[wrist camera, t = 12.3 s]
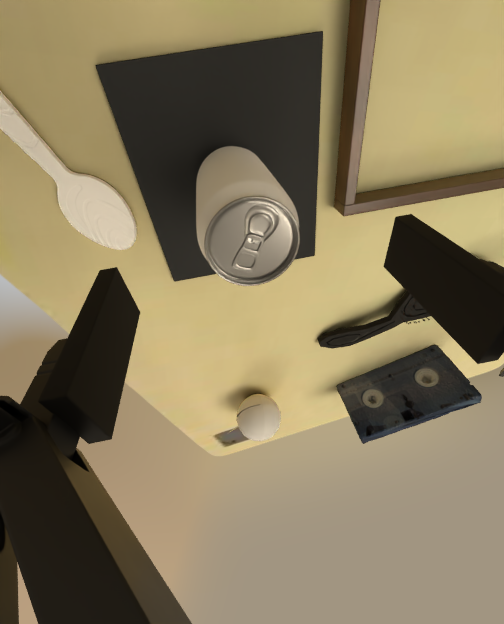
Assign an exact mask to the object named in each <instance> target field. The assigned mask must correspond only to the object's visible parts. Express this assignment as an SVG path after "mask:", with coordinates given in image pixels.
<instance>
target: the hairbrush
mask: <svg viewBox="0 0 504 624" xmlns="http://www.w3.org/2000/svg"><path fill="white" fill-rule="evenodd" d="M489 263H492V264H495V265H497V266H498V267H500V268H502V269H503V270H504V267H502V266H500V265H498V264H496V263H494V262H489ZM429 316H431V315H430V314H429V313H428V312H427V311H426V310H425V309H424V308H423V307H422V306H421V305H420V304H419V303H418V302H417V301H416V300H415V298H414V297H413V296H412V295H411V294H410V293H409V292H408V291H406V293H405V294H404V295H403V296H402V298H401V299H400V300H399V301H398V303H397V304H396V305H395V307H394V308H393V310H392V311H391V312H390V314H389V315H388V316H387V317H384V318H381V319H379V320H376V321H373V322H371V323H368V324H365V325H360V326H354V327H348V328H342V329H338V330H335V331H331V332H328V333H324V334H323V335H322V336H320V337H319V338H318V341H319V344H320V346H321V347H327V348H338V347H345V346H351V345H353V344H356V343H358V342H361V341H363V340H366V339H368V338H371V337H373V336H375V335H378V334H380V333H382V332H385V331H387V330H389V329H392V328H394V327H396V326H397V325H399V324H401V323H403V322H406V323H407V321H412V320H417V319H421V318H425V317H426V318H427V317H429ZM422 320H423V321H425V320H424V319H422ZM428 320H430V319H428ZM413 322H414V321H413ZM418 322H419V321H418ZM410 323H411V322H410ZM414 323H415V322H414ZM416 323H417V322H416ZM408 324H409V323H408Z"/></svg>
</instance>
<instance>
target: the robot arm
mask: <svg viewBox="0 0 504 624" xmlns="http://www.w3.org/2000/svg"><path fill="white" fill-rule="evenodd" d="M384 267H385V268H386V269H387V271H388V272H389V273H390V274H391V275H392V276H393V277H394V278H395V279H396V280H397V281H398V282H399V283H400V284H401V285H402V286H403V287H404V288H405V289H406V290H407V291H408V292H409V293H410V294H411V295H412V296H413V297H414V298H415V300H416V301H417V302H418V303H419V304H420V305H421V306H422V307H423V308H424V309H425V310H426V311H427V312H428V313H429V314H430V315H431V316H432V317H433V318H434V319H435V320H436V321H437V322H438V323H439V324H440V325H441V326H442V327H443V329H444V330H445V331H446V332H447V333H448V334H449V335H450V336H451V337H452V338H453V339H454V340H455V341H456V342H457V343H458V344H459V345H460V346H461V347H462V348H463V349H464V350H465V351H466V352H467V353H468V354H469V355H470V357H471V358H472V359H473V360H474V361H475V362H476V363H477V364H480V363H485V362H490V361H495V360H498V359H499V358H500V356H501V355H502V354H503V353H504V270H503V269H502V268H500V267H498V266H497V265H495V264H492V263H489V262H487V261H484V260H482V259H480V260H479V259H478V258H476V257H475V256H473V255H472V254H470V253H469V252H467V251H466V250H464V249H463V248H461V247H460V246H458V245H457V244H455V243H454V242H452V241H451V240H449V239H448V238H446V237H445V236H443V235H442V234H440V233H439V232H437V231H436V230H434V229H433V228H431V227H430V226H428V225H427V224H425V223H424V222H422V221H421V220H419V219H418V218H416V217H415V216H413V215H412V214H410V215H404V216H399V217H396V218H395V222H394V226H393V230H392V234H391V238H390V242H389V247H388V251H387V255H386V259H385V263H384ZM139 315H140V311H139V309H138V307H137V305H136V303H135V301H134V299H133V298H132V296H131V294H130V292H129V290H128V288H127V286H126V284H125V282H124V280H123V278H122V276H121V274H120V272H119V271H118V269H117V267H116V268H110V269H105V270H100V271H99V273H98V275H97V277H96V279H95V282H94V284H93V286H92V288H91V290H90V292H89V294H88V296H87V298H86V301H85V303H84V305H83V307H82V309H81V311H80V313H79V315H78V317H77V320H76V322H75V324H74V326H73V328H72V330H71V332H70V334H69V337H68V338H67V339H62V340H58V341H57V343H56V344H55V345H54V346H53V347H52V348H51V349H50V350H49V351H48V352H47V354H46V356H45V358H44V360H43V362H42V366H40V367H39V369H38V371H37V375H36V376H35V377H34V379H33V381H32V383H31V385H30V387H29V389H28V390H27V392H26V394H25V396H24V398H23V400H22V402H21V404H18V403H17V402H15V401H14V400H13V399H12V398H10V397H9V396H0V624H19V615H18V577H17V576H18V574H17V562H18V565H19V568H20V571H21V574H22V577H23V579H24V583H25V586H26V589H27V591H28V594H29V597H30V600H31V603H32V606H33V609H34V612H35V615H36V618H37V621H38V624H192V623H191V622H190V620H189V618H188V617H187V615H186V614H185V612H184V611H183V609H182V608H181V606H180V604H179V603H178V601H177V600H176V598H175V597H174V595H173V594H172V592H171V591H170V589H169V587H168V586H167V585H166V583H165V581H164V580H163V578H162V577H161V575H160V573H159V572H158V570H157V569H156V567H155V566H154V564H153V563H152V561H151V559H150V558H149V557H148V555H147V553H146V552H145V550H144V549H143V547H142V545H141V544H140V543H139V541H138V539H137V538H136V536H135V535H134V533H133V532H132V530H131V529H130V527H129V525H128V524H127V522H126V521H125V519H124V518H123V516H122V514H121V513H120V511H119V510H118V508H117V507H116V505H115V504H114V502H113V501H112V499H111V497H110V496H109V494H108V493H107V491H106V490H105V488H104V487H103V485H102V483H101V482H100V480H99V479H98V477H97V476H96V474H95V473H94V471H93V469H92V468H91V466H90V465H89V463H88V462H87V460H86V459H85V457H84V455H83V454H82V452H81V451H79V450H78V449H77V448H76V447H77V444H78V440H79V437H81V438H82V439H84V440H85V441H86V442H87V443H89V444H90V443H95V442H100V441H105V440H110V439H112V435H113V431H114V426H115V421H116V417H117V413H118V408H119V404H120V399H121V395H122V391H123V386H124V382H125V377H126V373H127V368H128V364H129V359H130V355H131V351H132V346H133V342H134V337H135V333H136V328H137V324H138V319H139ZM499 376H502V377H503V376H504V368H503V369H502V370H501V372H500V374H499Z"/></svg>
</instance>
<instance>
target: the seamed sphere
mask: <svg viewBox="0 0 504 624" xmlns="http://www.w3.org/2000/svg"><path fill="white" fill-rule="evenodd" d="M280 421H281V415H280V410H279V408H278V406H277V404H276V402H275V401H274V400H273V399H271V398H270V397H268V396H266V395H263V394H254V395H251V396H249V397H247V398H246V399H245V400H244V401H243V402H242V403H241V404H240V406H239V409H238V411H237V423H238V426H239V429H240V430H241V432H242V433H243V434H244V436H246V437H247V438H249V439H251V440H253V441H264V440H267V439H269V438H271V437H272V436H274V434H275V433H276V431H277V430H278V429H279V425H280ZM236 428H237V427H236ZM233 430H234V429H233ZM230 432H231V431H230ZM228 433H229V432H228Z"/></svg>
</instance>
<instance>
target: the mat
mask: <svg viewBox="0 0 504 624" xmlns="http://www.w3.org/2000/svg"><path fill="white" fill-rule="evenodd" d="M322 45H323V31H320V32H314V33H307V34H300V35H294V36H287V37H280V38H274V39H267V40H260V41H253V42H247V43H240V44H233V45H227V46H220V47H213V48H207V49H200V50H193V51H186V52H180V53H173V54H166V55H160V56H153V57H146V58H140V59H133V60H126V61H120V62H113V63H106V64H99V65H96V69H97V71H98V74H99V77H100V80H101V82H102V85H103V88H104V91H105V93H106V96H107V99H108V102H109V104H110V107H111V110H112V113H113V115H114V118H115V121H116V123H117V126H118V129H119V132H120V134H121V137H122V140H123V143H124V145H125V148H126V151H127V154H128V156H129V159H130V162H131V165H132V167H133V170H134V173H135V176H136V178H137V181H138V184H139V187H140V189H141V192H142V195H143V197H144V200H145V203H146V206H147V208H148V211H149V214H150V217H151V219H152V222H153V225H154V228H155V230H156V233H157V236H158V239H159V241H160V244H161V247H162V250H163V252H164V255H165V258H166V260H167V263H168V266H169V269H170V271H171V274H172V277H173V280H174V281H180V280H185V279H191V278H196V277H201V276H207V275H212V274H217V273H216V272H215V271H214V270H213V269H212V268H211V266H210V265H209V263H208V261H207V260H206V258H205V257H204V255H203V254H202V251H201V249H200V246H199V243H198V239H197V229H196V181H197V175H198V171H199V169H200V166H201V165H202V163H203V161H204V160H205V159H206V158H207V156H208V155H210V154H211V153H212V152H214V151H215V150H217V149H219V148H222V147H226V146H237V147H242V148H245V149H247V150H249V151H251V152H253V153H254V154H255V155H256V156H257V157H258V158H259V159H260V160H261V161H262V163H263V164H264V165H265V166H266V167H267V169H268V170H269V171H270V173H271V174H272V175H273V176H274V178H275V179H276V180H277V181H278V183H279V184H280V185H281V187H282V188H283V189H284V191H285V192H286V193H287V195H288V196H289V197H290V199H291V201H292V202H293V204H294V206H295V209H296V211H297V215H298V220H299V232H300V243H299V248H298V252H297V254H296V257H295V259H299V258H305V257H310V256H314V255H315V230H316V203H317V177H318V150H319V124H320V97H321V71H322Z"/></svg>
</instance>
